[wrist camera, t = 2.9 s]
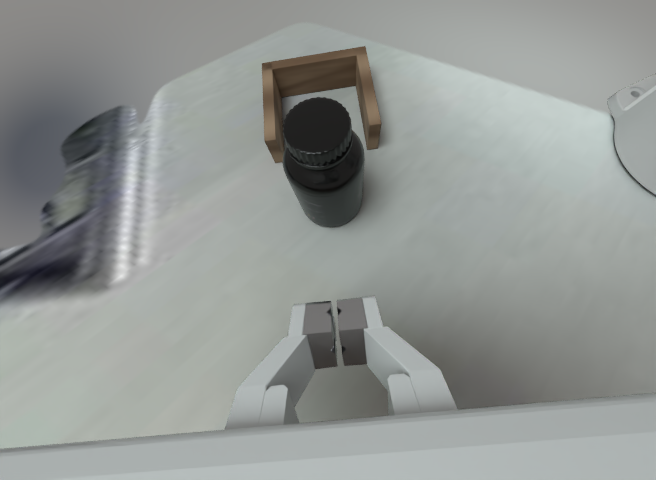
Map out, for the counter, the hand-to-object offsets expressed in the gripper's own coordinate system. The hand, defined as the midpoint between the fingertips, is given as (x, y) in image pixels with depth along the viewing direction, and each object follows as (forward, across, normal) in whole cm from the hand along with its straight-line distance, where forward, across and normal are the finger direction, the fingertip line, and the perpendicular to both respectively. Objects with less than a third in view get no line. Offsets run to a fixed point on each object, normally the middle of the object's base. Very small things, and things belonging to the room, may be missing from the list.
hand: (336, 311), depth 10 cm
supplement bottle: (+20, 0, +2) cm, 20 cm away
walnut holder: (+28, 0, -6) cm, 29 cm away
